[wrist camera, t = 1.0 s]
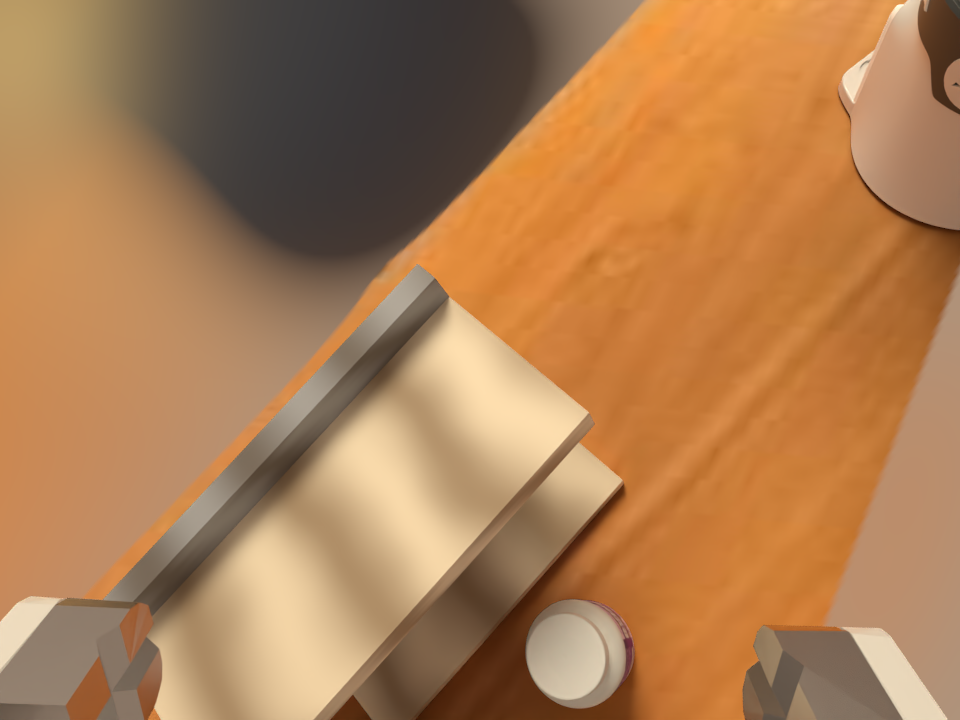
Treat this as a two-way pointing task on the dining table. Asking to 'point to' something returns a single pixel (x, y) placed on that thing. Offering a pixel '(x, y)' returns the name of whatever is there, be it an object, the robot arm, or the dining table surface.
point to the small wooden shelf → (371, 525)
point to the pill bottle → (579, 652)
